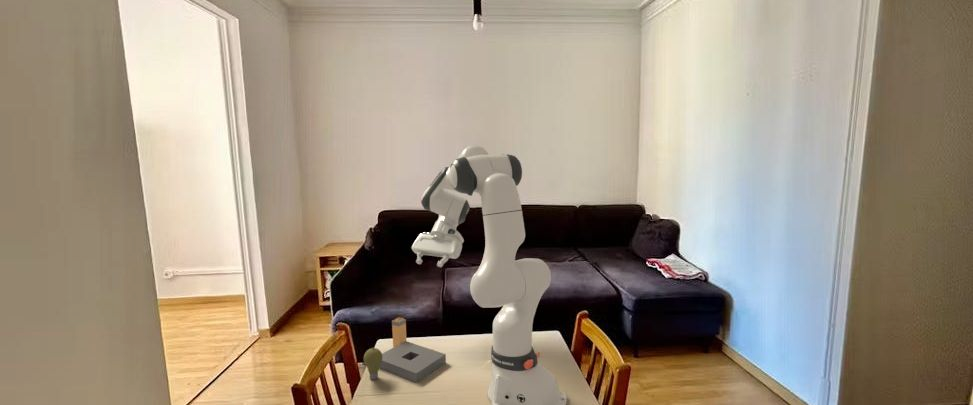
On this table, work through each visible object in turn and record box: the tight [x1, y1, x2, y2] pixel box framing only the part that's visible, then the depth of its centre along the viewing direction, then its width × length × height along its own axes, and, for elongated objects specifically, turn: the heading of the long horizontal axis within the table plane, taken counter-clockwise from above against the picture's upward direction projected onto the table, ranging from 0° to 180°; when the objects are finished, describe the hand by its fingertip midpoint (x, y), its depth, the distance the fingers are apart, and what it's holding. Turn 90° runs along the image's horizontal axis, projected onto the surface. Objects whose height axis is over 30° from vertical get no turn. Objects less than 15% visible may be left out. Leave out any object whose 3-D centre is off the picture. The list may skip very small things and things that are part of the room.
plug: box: [391, 316, 407, 348], centre depth 151 cm, size 3×4×10 cm
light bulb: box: [363, 347, 383, 381], centre depth 130 cm, size 6×6×10 cm
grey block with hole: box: [379, 340, 447, 384], centre depth 138 cm, size 18×14×4 cm
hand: (428, 264), depth 158 cm, fingers open, 8 cm apart
